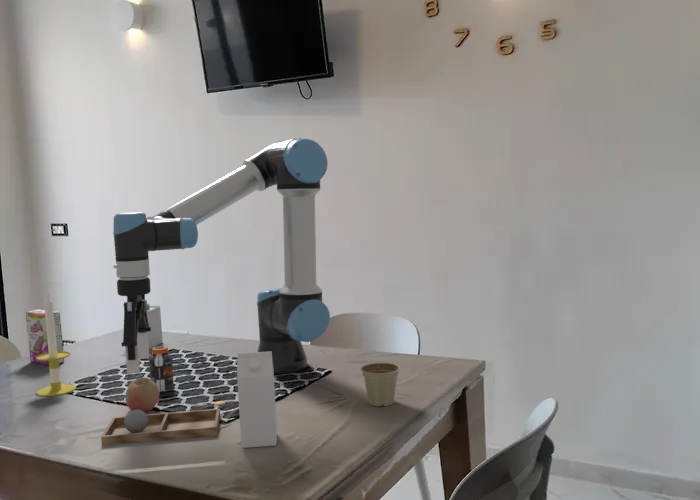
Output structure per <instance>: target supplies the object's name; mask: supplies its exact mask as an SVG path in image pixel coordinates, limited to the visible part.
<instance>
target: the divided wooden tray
mask: <svg viewBox="0 0 700 500" xmlns="http://www.w3.org/2000/svg"><path fill="white" fill-rule="evenodd" d="M146 415H147V418H148V423H147V426H146V428H145V429H144V430H143V431H141V432H139V433H132V432H130V431H128V430H127V429H126V428H125V425H124V419H125V416H126V415H125V416H123V415H122V416H113V417H112V419H111V421H110V422H109V424H107V427H106V428H105V430H104V432H103V433H102V435H101V437H100V439H101V445H102V446H109V445H122V444H131V443H133V444H134V443H145V442H155V441H167V440H179V439H191V438H201V437H202V438H203V437H216V436H217V435H218V431H219V426H220V421H221V409H220V408H211V409H200V410H198V409H197V410H186V411H175V412H173V411H172V412H164V413H161V412H160V413H151V414H150V413H149V414H146Z"/></svg>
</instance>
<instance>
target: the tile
mask: <svg viewBox="0 0 700 500" xmlns="http://www.w3.org/2000/svg"><path fill="white" fill-rule="evenodd" d="M225 404H227V402H226V401H224V400H220V401H219V400H218V401H216V402H213V405H215V406H222V405H225ZM207 405H209V403H207V402H199V403H198V402H197V403H196V404H195V405H194V406H195V407H206V406H207Z"/></svg>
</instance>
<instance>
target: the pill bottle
mask: <svg viewBox="0 0 700 500" xmlns="http://www.w3.org/2000/svg"><path fill="white" fill-rule="evenodd" d="M151 353H152V355H151V356H149V359H148V364H149V377H150V378H149V379H151V380H152V381H154V382H155V383H156V384H157V386H158V388H159V392H160V393H161V392H162V391H163V392H167V391H171V390H172V389H174V387H175V384H174V382H175V381H174V380H175V379H174V370H173V369H174V367H173V356H172V355H171V354H169V350H168V347H167V346H164V345H163V346H161V345H158V346H156V347H154V348H152V349H151Z"/></svg>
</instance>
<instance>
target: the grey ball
mask: <svg viewBox="0 0 700 500" xmlns="http://www.w3.org/2000/svg"><path fill="white" fill-rule="evenodd" d="M147 415H148V414H146V412H143V411H141V410H130V411H129V412H128V413H127V414H126V415H125V419H124V425H125V428H126V429H127V430H128V431H130V432H132V433H139V432H141V431H143V430H144V429H145V428H146V426H147V423H148V418H147Z"/></svg>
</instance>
